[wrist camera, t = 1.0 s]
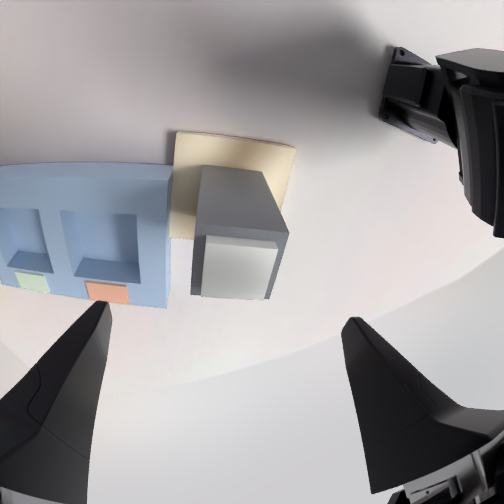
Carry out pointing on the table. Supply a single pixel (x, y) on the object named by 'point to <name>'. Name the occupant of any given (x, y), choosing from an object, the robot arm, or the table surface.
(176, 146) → the coaster
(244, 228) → the plug
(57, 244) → the dock
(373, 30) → the table surface
